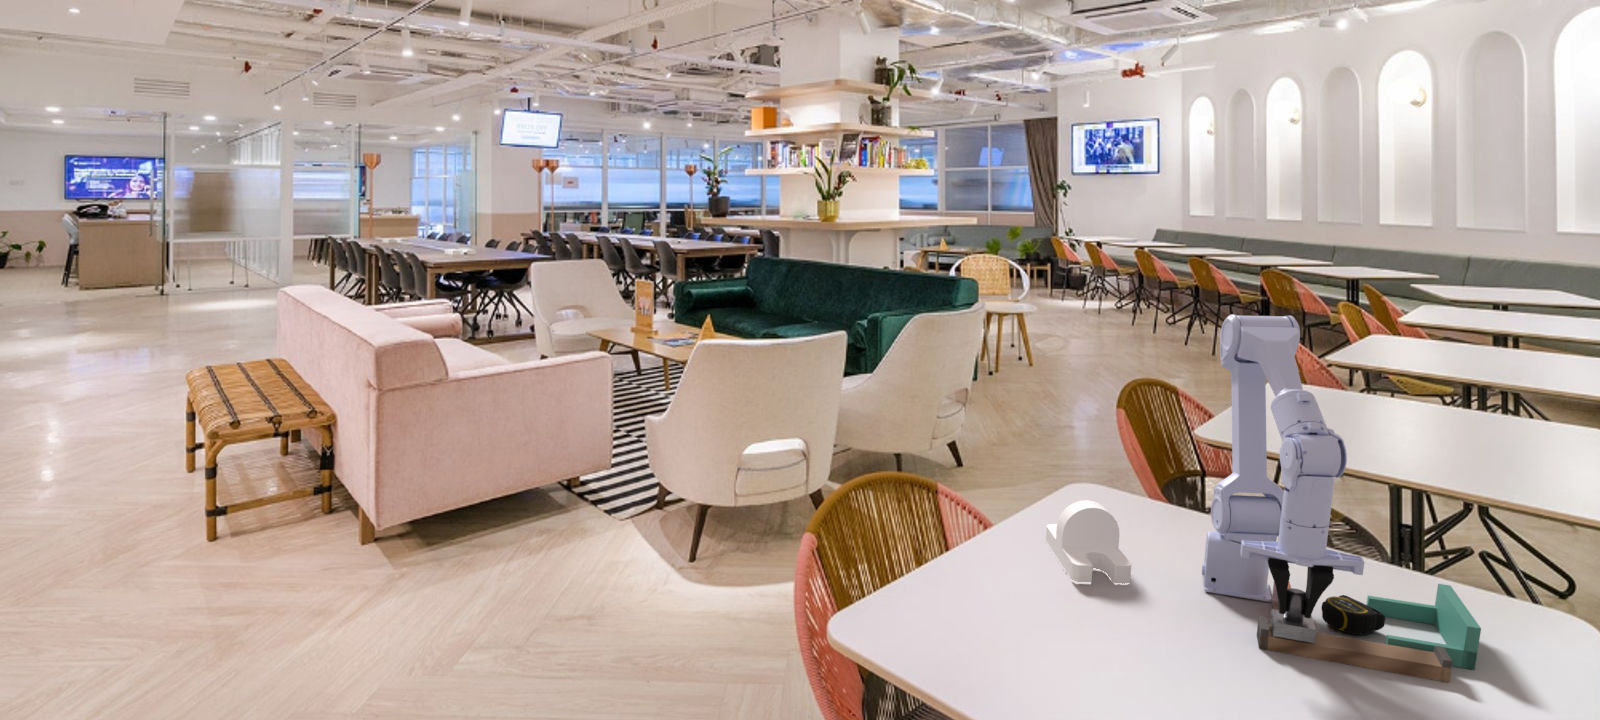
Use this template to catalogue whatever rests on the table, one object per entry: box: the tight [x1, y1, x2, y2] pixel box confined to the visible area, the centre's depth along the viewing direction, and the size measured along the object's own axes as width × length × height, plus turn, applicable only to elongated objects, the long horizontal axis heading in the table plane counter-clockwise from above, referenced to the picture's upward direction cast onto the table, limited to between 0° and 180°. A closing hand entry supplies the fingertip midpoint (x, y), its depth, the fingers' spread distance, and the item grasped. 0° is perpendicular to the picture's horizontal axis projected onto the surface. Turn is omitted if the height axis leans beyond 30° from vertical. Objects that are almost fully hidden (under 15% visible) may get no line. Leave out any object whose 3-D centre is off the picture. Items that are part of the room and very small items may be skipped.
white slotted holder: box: [1045, 499, 1132, 584], centre depth 149 cm, size 10×18×11 cm, turn 179°
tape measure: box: [1320, 594, 1386, 635], centre depth 127 cm, size 7×7×4 cm
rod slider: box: [1269, 581, 1317, 643], centre depth 126 cm, size 5×16×8 cm, turn 157°
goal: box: [1365, 583, 1482, 671], centre depth 123 cm, size 10×14×6 cm
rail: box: [1256, 615, 1453, 683], centre depth 118 cm, size 22×4×3 cm, turn 67°
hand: (1293, 612), depth 120 cm, fingers closed on rod slider, 2 cm apart
